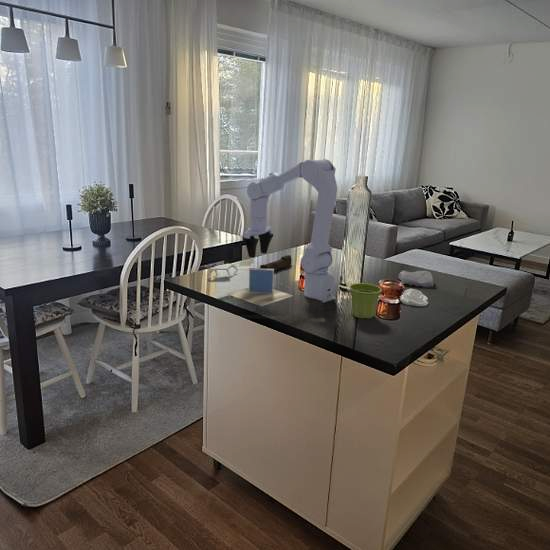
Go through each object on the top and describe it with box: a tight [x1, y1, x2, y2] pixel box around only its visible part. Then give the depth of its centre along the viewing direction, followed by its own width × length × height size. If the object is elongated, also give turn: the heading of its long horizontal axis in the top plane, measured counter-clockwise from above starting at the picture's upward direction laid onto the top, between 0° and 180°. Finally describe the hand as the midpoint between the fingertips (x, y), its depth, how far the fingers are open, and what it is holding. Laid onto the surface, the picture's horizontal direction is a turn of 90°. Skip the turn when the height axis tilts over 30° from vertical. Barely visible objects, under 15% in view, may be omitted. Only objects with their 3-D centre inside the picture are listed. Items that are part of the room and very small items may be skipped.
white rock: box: [401, 288, 429, 307], centre depth 157 cm, size 10×4×10 cm
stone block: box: [398, 270, 434, 288], centre depth 178 cm, size 12×5×10 cm
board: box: [226, 286, 294, 307], centre depth 156 cm, size 16×15×1 cm
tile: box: [248, 267, 275, 293], centre depth 157 cm, size 8×1×8 cm, turn 87°
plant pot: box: [348, 282, 383, 320], centre depth 143 cm, size 9×9×9 cm
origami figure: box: [206, 263, 239, 279], centre depth 175 cm, size 12×8×5 cm
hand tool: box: [259, 254, 293, 271], centre depth 189 cm, size 19×4×5 cm, turn 142°
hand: (257, 255), depth 171 cm, fingers open, 7 cm apart
